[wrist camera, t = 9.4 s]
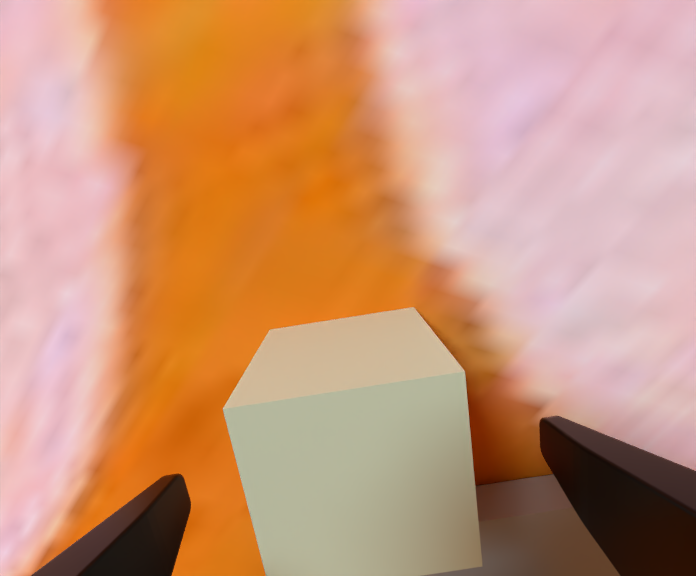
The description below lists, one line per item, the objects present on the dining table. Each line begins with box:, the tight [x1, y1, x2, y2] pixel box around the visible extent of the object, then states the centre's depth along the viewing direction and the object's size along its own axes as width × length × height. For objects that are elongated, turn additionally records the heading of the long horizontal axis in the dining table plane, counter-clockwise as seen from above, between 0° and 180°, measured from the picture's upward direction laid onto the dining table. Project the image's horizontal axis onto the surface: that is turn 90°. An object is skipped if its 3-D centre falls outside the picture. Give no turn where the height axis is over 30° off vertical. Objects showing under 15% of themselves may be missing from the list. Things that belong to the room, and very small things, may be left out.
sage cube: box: [223, 307, 482, 576], centre depth 10 cm, size 5×5×5 cm
